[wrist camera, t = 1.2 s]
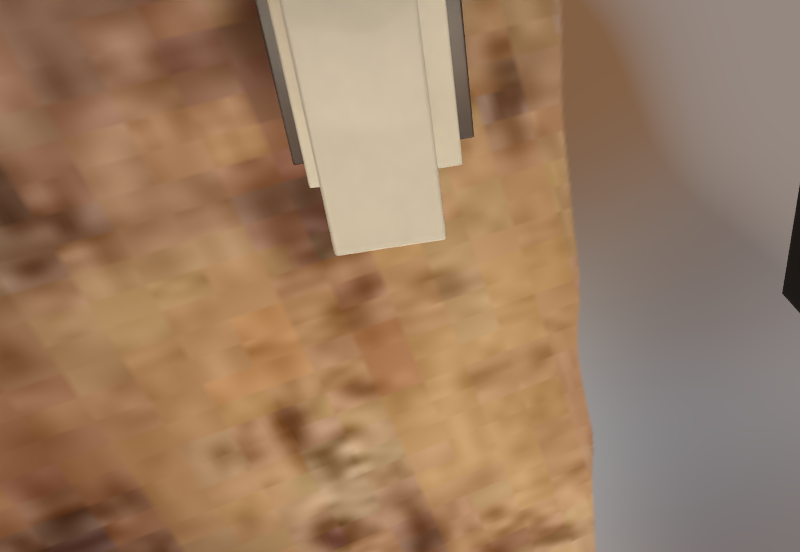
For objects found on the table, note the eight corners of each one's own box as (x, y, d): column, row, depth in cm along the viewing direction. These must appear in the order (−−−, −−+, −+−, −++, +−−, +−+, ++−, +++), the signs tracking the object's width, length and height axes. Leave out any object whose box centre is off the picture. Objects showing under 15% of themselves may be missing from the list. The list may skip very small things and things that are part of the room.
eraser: (239, -171, 22) (175, -174, 14) (417, -201, 22) (456, -221, 14) (312, 162, 28) (296, 295, 20) (454, 140, 28) (496, 265, 20)
